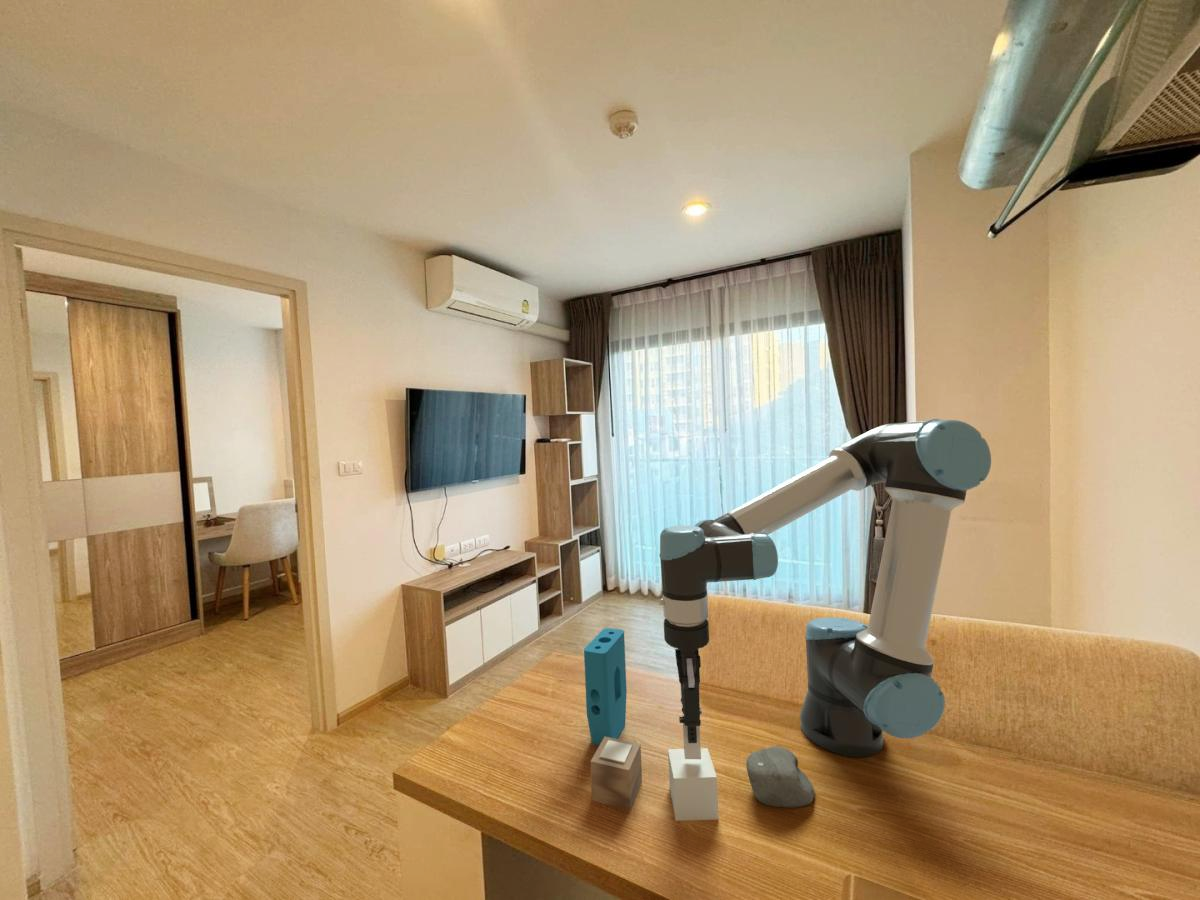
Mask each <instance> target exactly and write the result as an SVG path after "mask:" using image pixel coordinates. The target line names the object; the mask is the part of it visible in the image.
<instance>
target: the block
mask: <svg viewBox="0 0 1200 900" xmlns="http://www.w3.org/2000/svg"><path fill="white" fill-rule="evenodd" d="M625 645H626V644H625V630H623V629H617V628H608V627H606V628H605V627H604V628H603V629H602V630H601V631H600V632H599V633H598V634H597V635H596V636H594V638H593V639H592V640H591V641H590V642H589V643H588V644H587V645H586V646H585V647H584V649H583V655H584V656H583V658H584V678H585V679H584V681H585V683H584V685H585V702H586V703H585V704H586V706H585V707H586V718H587V724H588V729H589V734H590V735H589V736H590V740H591V743H592V744H594V745H598V746H599V745H600V744H601V742H602V740H603V738H604V737H610V738H615V739H619V737H620V735H621V734H622V732H623V731H624V729H625V727H626V718H627V717H626V715H627V714H626V713H627V694H628V693H627V689H628V688H627V670H626V669H627V667H626V646H625Z"/></svg>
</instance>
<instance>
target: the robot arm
mask: <svg viewBox="0 0 1200 900" xmlns="http://www.w3.org/2000/svg"><path fill="white" fill-rule="evenodd" d="M991 467H992V454H991V450H990V447H989V444H988V442H987V439H985V438H984V437H982V435H981V432H980V431H979V430H978V429H977V428H975V427H974V426H972V425H971V424H969V423H966V422H964V421H961V420H956V419H937V418H933V419H928V420H919V421H906V422H893V423H886V424H882V425H880V426H877V427H874V428H872V429H870V430H868V431H866V432H864V433H861V434H860V435H858V436H856V437H854V438H853V439H851V440H849V441H847V442H845V443H843V444H841V445H839V446H837V447H836V448H833V449H832V450H831V451H830V452H829V456H828V458H827V459H826V458H825V459H824V460H822V461H821V462H819V463H817V464H815V465H813V466H812V467H810V468H808V469H806V470H804V471H803V472H800V473H798V474H797V475H795V476H793V477H791V478H789V479H788V480H785V481H784V482H782V483H780V484H779V485H777V486H774V487H773V488H771V489H770V490H768V491H766V492H764V493H762V494H760V495H758V496H757V497H754V498H753V499H751V500H749V501H747V502H745V503H744V504H742V505H740V506H738V507H736V508H734V509H732V510H731V511H729V512H727V513H725V514H722V515H721V516H719V517H717V518H715V519H703V520H699V521H698V522H697V523H696V524H694V525H682V524H681V525H673V526H668V527H665V528H664V529H663V530H662V531H661V532H660V534H659V535H660V536H659V559H660V575H661V588H662V589H661V591H662V598H660V599H658V604H659V605H660V606H663V607H662V609H663V610H662V611H663V612H662V613H663V617H664V620H663V636H664V642H665V643H666V644H667V645H668V646H669V647H671V648H674V651H675V661H676V662H675V663H676V667H677V673H678V682H679V683H680V696H681V698H680V702H681V706H682V707H681V712H682V716H679V717H678V718H679V724H682V736H683V749H684V755H685V759H701V748H702V747H701V730H700V727H701V724H702V722H701V715H702V714H703V713H702V707H700V705H701V703H700V702H701V701H700V684H701V683H700V682H701V677H700V676H701V675H700V670H701V669H700V668H701V667H702V666H701V665H702V663H701V655H700V653H699V650H700V649H702V648H704V647H706V646H707V645H708V644H709V642H710V630H709V628H710V626H709V625H710V623H709V620H708V618H709V601H708V597H709V596H708V588H707V586H708V583H718V582H732V581H733V582H734V581H749V580H750V581H751V580H753V581H757V580H760V579H764V578H765V579H766V578H767V579H768V578H770V577H772V576H774V575H775V574H776V572H777V569H778V566H779V558H778V557H779V555H778V551H777V548H776V544H775V542H774V540H773V539H772V538H771V536H770V534H772V533H774V532H775V531H778V530H780V529H781V528H783V527H785V526H787V525H789V524H791V523H792V522H794V521H796V520H798V519H799V518H802V517H803V516H805V515H807V514H809V513H811V512H813V511H815V510H816V509H818V508H820V507H822V506H823V505H825V504H828V503H829V502H831V501H833V500H834V499H836V498H838V497H840V496H842V495H844V494H846V493H848V492H849V491H851V490H852V491H856V492H857V491H862V490H864V489H865V488H867V487H870V486H873V485H875V484H880V483H885V485H884V490H885V491H886V492H887V494H888V495H889V496H890V498H891V502H892V503H891V508H890V512H889V517H888V523H887V527H886V532H885V537H884V538H885V539H884V541H883V542H884V544H883V549H882V555H881V559H880V564H879V569H878V574H877V579H876V585H875V590H874V594H873V600H872V605H871V610H870V615H869V619H868V620H869V621H868V624H865V623H864V622H862V621H859V620H856V619H852V618H845V617H830V616H829V617H828V616H827V617H819V618H814V619H812V620H810V621H808V623H806V626H805V637H804V640H805V650H806V651H805V652H806V668H807V669H806V671H807V672H806V673H807V691H806V695H805V698H804V701H803V704H802V707H801V709H800V712H799V713H800V714H799V719H800V720H799V721H800V722H799V723H800V728H801V731H802V733H803V734H804V735H805V736H806V738H807V739H809V740H810V741H811V742H812V743H813V744H815V745H816V746H819V748H822V749H823V750H826V751H829V752H831V753H834V754H838V755H840V756H846V757H851V758H852V757H854V758H864V757H865V758H867V757H869V756H874V755H876V754H878V753H879V752H881V750H882V749H883V747H884V732H885V733H886V734H888V735H890V736H892V737H894V738H899V739H905V740H907V739H915V738H918V737H921V736H923V735H924V734H925V733H927V732H930V731H932V730H933V729H934V728H935V727H936V726H937V724H938V723H939V722H940V720H941V719H942V717H943V714H944V712H945V707H946V700H945V695H944V693H943V692H942V689H941V687H940V686H939V684H938V682H936V681H935V680H934V678H932V675H933V669H934V663H935V662H934V660H935V659H934V658H933V657H932V655H931V654H930V653H929V651H928V650H927V648H926V645H927V644H926V643H927V640H928V634H929V629H930V623H931V619H932V613H933V608H934V603H935V597H936V592H937V587H938V582H939V576H940V572H941V565H942V562H943V561H942V560H943V555H944V551H945V545H946V541H947V535H948V530H949V526H950V520H951V513H952V511H953V510H954V509H955V508H958V507H960V506H961V505H963V504H965V501H966V496H967V491H969V490H972V489H974V488H976V487H977V488H978V486H979V485H981V482H983V481H984V482H985V480H986V479H987V477H988V475H989V473H990V472H991V471H990V470H991Z"/></svg>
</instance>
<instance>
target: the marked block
mask: <svg viewBox="0 0 1200 900" xmlns="http://www.w3.org/2000/svg"><path fill="white" fill-rule="evenodd" d="M641 745H642V744H641V743H637V742H634V741H630V740H624V739H619V738H618V739H615V738H610V737H604V738H603V740H602V742H601V744H600V745H598V747H597V749H596V751H595V753H594V754H593V756H592V758H591V760H590V779H591V782H590V783H591V784H590V785H591V801H592V802H594V803H599V804H603V805H607V806H611V807H614V808H618V809H621V810H625V811H629V812H631V811H632V809H633V807H634V804H635V801H636V798H637V796H638V794H639V790H640V789H641V785H642V783H643V772H642V771H643V769H642V768H643V767H642V746H641Z"/></svg>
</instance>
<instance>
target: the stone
mask: <svg viewBox="0 0 1200 900" xmlns="http://www.w3.org/2000/svg"><path fill="white" fill-rule="evenodd" d="M798 760H799V759H798V758H797V756H796V755H795V754H794V753H793V752H792V751H790V750H789V749H787V748H785V747H782V746H776V745H773V746H770V747H765V748H761V749H759V750H757V751H753V752H752V753H750V754H749V755H748V757H747V759H746V770H747V776H748V779H749V780H748V781H749V783H750V786H751V789H752V791H753V794H754V796H755V798H756V799H757V800H758V802H760V803H761V804H763V805H766V806H770V807H776V808H778V807H779V808H786V809H787V808H789V809H790V808H796V809H797V808H801V807H805V806H806V807H807V806H808V805H810V804H813V800H814V798H815V797H816V796H817V795H816V793H815V789H814V785H813V784H812V781H810V780H809V778H808V776H807V775H806V773H804V772H803V771H802V770H801V769H800V768H799V767H798V765H799V761H798Z"/></svg>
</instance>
